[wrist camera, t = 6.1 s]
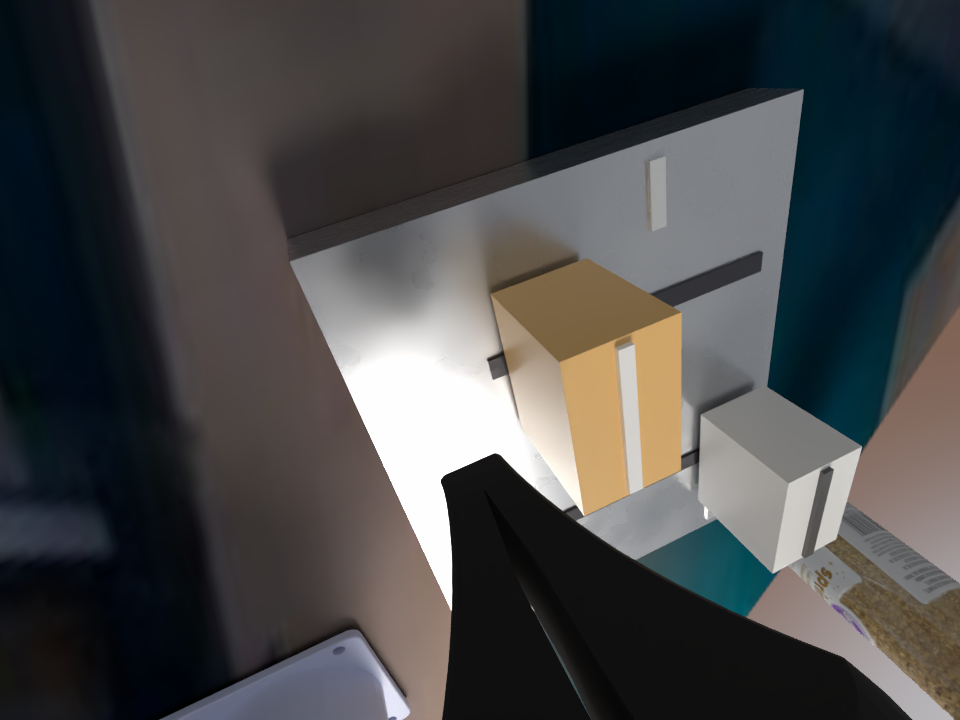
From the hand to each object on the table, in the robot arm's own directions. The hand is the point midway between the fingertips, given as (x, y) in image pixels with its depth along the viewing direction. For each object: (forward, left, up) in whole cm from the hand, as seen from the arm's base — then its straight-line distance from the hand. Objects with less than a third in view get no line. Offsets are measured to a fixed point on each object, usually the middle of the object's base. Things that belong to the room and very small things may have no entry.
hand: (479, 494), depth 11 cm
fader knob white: (+11, -8, -4) cm, 14 cm away
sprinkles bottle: (+16, -16, -7) cm, 24 cm away
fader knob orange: (+4, 0, -4) cm, 6 cm away
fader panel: (+5, -4, -6) cm, 9 cm away
